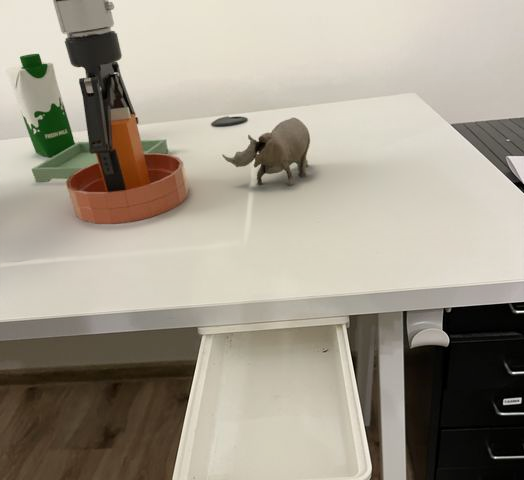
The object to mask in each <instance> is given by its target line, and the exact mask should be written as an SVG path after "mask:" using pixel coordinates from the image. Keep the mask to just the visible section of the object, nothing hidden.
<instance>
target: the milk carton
mask: <svg viewBox="0 0 524 480" xmlns="http://www.w3.org/2000/svg"><path fill="white" fill-rule="evenodd" d="M19 59H20V63H21V65H18V66H13V67H8V68H5V72H6V74H7V76H8V79H9V82H10V84H11V87H12V89H13V92H14V95H15V97H16V101H17V104H18V106H19V110H20V113H21V115H22V118H23V121H24V124H25V127H26V130H27V133H28V135H29V138H30V141H31V143H32V146H33V148H34V152H35V153H36V154H38V155H41V156H43V157H46V158H48V159H50V158H52V157H53V156H55V155H57V154H59V153H60V152H62V151H64V150H66V149H67V148H69V147H71V146H73V145H74V144H76V142H75V140H74V135H73V132H72V128H71V125H70V121H69V118H68V114H67V111H66V108H65V104H64V100H63V97H62V95H61V91H60V88H59V84H58V80H57V77H56V72H55V66H54V64H53V63H51V62H45V61H42V59H41V55H40V53H30V54H25V55H21V56H19Z"/></svg>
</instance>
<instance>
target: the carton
mask: <svg viewBox="0 0 524 480" xmlns="http://www.w3.org/2000/svg"><path fill="white" fill-rule="evenodd" d="M135 114H136V113H135ZM135 114H130V111H129V107H125V108H117V109H111V125H112V143H113V149H116V153H117V156H118V160H119V164H120V168H121V172H122V176H123V179H124V183H125V187H126V190H127V189H131V188H136V187H140V186H144V185H147V184H150V179H149V174H148V170H147V166H146V161H145V157H144V153H143V148H142V144H141V140H142V139H141V136H140V131H139V128H138V124H137V122H136V118H135V117H136V116H135ZM96 156H97V160H98V163H99V167H100V170H101V174H102V178H103V181H104V185H105V188H106V192H108V190H107V187H106V183H105V180H104V176H103V173H102V169H101V165H100V162H99V158H98V155H97V153H96Z"/></svg>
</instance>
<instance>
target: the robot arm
mask: <svg viewBox="0 0 524 480" xmlns="http://www.w3.org/2000/svg"><path fill="white" fill-rule="evenodd" d="M52 1H53V6H54V10H55V14H56V17H57V21H58V24H59V29H60V32H61V34H63V35H66V38H65V40H64V44H65V48H66V51H67V55H68V59H69V62H70V65H71V66H73V67H74V68H83V69H84V71H85V77H81V78H79V79H78V84H79V87H80V88H79V89H80V91H81V95H82V102H83V108H84V109H83V110H84V117H85V124H86V133H87V139H88V142H89V150H90V153H91V154H94V153H97V155H98V158H99V162H100V165H101V169H102V173H103V176H104V180H105V183H106V187H107V190H108V192H112V191H120V190H126V187H125V183H124V179H123V176H122V172H121V168H120V164H119V160H118V156H117V153H116V149H113V143H112V125H111V109H117V108H125V107H129V111H130V114H135V118H136V122H137V125H139V118H138V116H136V112H135V110H134V107H133V103H132V101H131V99H130V95H129V93H128V90H127V88H126V85H125V82H124V80H123V76H122V73H121V70H120V65H119V63H118V61H120V60H121V59H122V57H123V54H122V50H121V45H120V40H119V36H118V33H117V32H116V31H115V30H112V28H113V27H114V25H115V22H114V21H115V20H114V17H113V13H112V11H113V10H114V9H115V4H114V3H113V2H112V1H109V0H52Z"/></svg>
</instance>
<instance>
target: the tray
mask: <svg viewBox="0 0 524 480" xmlns="http://www.w3.org/2000/svg"><path fill="white" fill-rule="evenodd" d="M140 140H141V144H142V148H143V153H144V154H149V153H159V154H167V153H168V152H169V148H168V143H167V139H140ZM95 163H98V160H97V156H96V153H94V154H91V153H90V150H89V141H78V142H75V144H74V145H73V146H71V147H69V148H67V149H66V150H64V151H62V152H60V153H59V154H57V155H55V156H52V157H49V158H48V159H46V160H44V161H43V162H41V163H39V164H38V165H36V166H33V168H31V172H32V174H33V177H34V180H35V182H51V180H52V179H69V177H70V176H71V175H72V174H74V173H75V172H77V171H79V170H80V169H82V168H85V167H87V166H89V165H92V164H95Z"/></svg>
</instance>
